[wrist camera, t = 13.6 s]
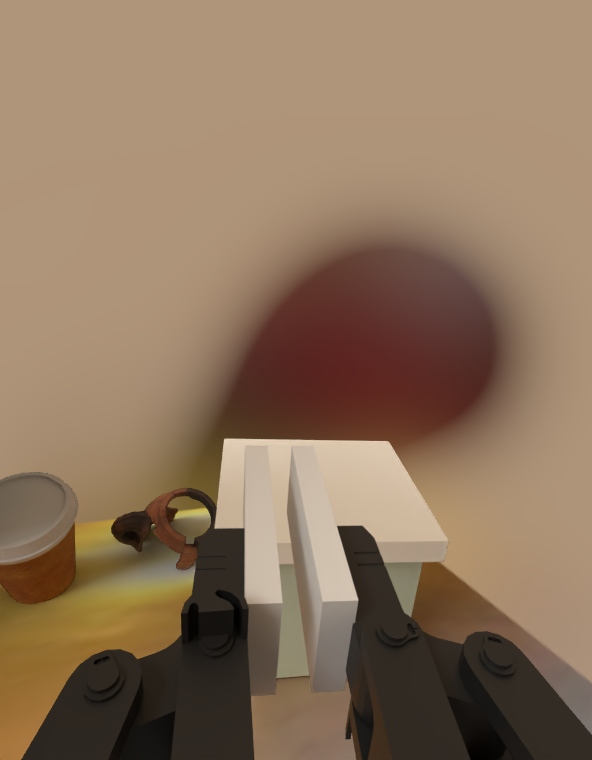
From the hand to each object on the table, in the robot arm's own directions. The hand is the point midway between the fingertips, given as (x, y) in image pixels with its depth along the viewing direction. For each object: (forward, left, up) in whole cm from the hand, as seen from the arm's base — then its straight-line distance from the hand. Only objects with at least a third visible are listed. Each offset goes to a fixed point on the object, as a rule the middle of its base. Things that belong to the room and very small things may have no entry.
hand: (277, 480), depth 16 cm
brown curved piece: (-10, +31, -30) cm, 45 cm away
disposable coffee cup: (-22, +27, -30) cm, 46 cm away
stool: (+6, +21, -30) cm, 37 cm away
